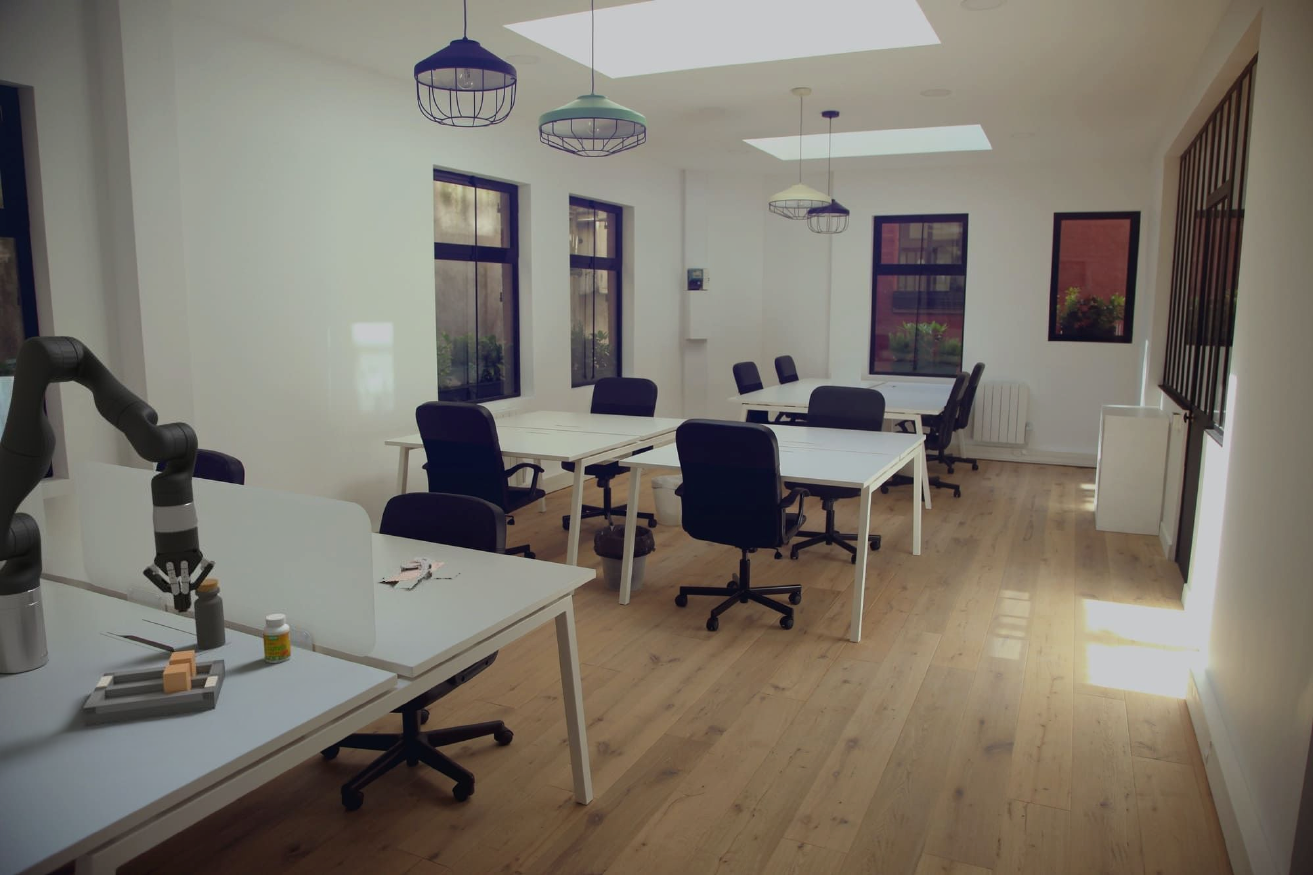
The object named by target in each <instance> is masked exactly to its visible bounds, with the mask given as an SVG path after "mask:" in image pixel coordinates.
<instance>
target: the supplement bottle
mask: <svg viewBox="0 0 1313 875" xmlns="http://www.w3.org/2000/svg"><path fill="white" fill-rule="evenodd" d="M286 621H287V620H286V615H285V614H283V613H274V614H269V615H267V616H266V617H265V625H266V626H265V627H264V628H263V630H262V636H263V637H262V638H263V649H264V650H263V653H264V660H265V662H266V663H269V664H279V663H284V662H286V661H288V660H290V659H291V657H292V649H291V647H292V646H291V634H290V633H291V631H290V629H291V628H290V625H289V624H287V623H286Z"/></svg>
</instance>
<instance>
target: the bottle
mask: <svg viewBox="0 0 1313 875" xmlns="http://www.w3.org/2000/svg"><path fill="white" fill-rule="evenodd" d="M218 585H219V579H218V578H205V580H204V581H203V582H202V584H201V585H200V586H199V588H198V589H197V590H194V594H195V596H196V597H197V599H195V600H194V602H193V606H194V610H193V611H194V621H195V622H194V623H195V632H196V634H195V635H196V645H197V648H199V649H201V650H202V649H203V650H208V649H215V648H219V647H222V646H223V645H225V644H226V629H225V627H226V626H225V616H224V602H223V598H222V597H221V596H220V595H218V594H219V593H220V592H221V590H220V586H218Z"/></svg>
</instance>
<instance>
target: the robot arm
mask: <svg viewBox="0 0 1313 875" xmlns="http://www.w3.org/2000/svg"><path fill="white" fill-rule="evenodd" d="M68 382H74V383H77V384H79V385H81V386H83V387H85V388H86V389H88V390H89V391H90V392H91V393H92V397H93V401H94V405H95V408H96V410H97V412H98V413H99V415H100V416H101V417H102V418H104V419H105V420H106V421H107V422H108V423H109V424H110V425H112V426H113V427H115V428H116V429H117V430H119V431H120V432H121V433H123V434H124V436H125V437H126V439H127V441H128V442H129V443H130V445H131V446H132V448H133V449H134V451H135V452H136V453H137V455H138V456H139V457H140V458H142V459H143V460H145V461H148V462H150V463H153V464H154V463H155V464H159V463H160V464H161V463H165V462H167V463H166V465H165V467H164V470H163V471H161V472H159V473H158V474H155V475H154V476H153V477H152V478H151V480H150V487H151V488H150V489H151V500H152V524H153V527H152V528H153V536H154V545H155V547H154V548H155V557H154V558H153V562H152V564H151V565H149V566H147V567H146V568H145V569H144V570H143V571H142V574H143V576H145V577H146V578H147V580H149V581H150V582H151V583H152V584H153V585H154V586H155V587H156V588H158V589H159V590H160V591H161V592H162V593H163V594H164V593H165V594H166V593H168V594H170V595H172V596H173V597H172V598H173V607H174V610H175V611H178V612H177V613H179V614H181V613H187V612H188V611H189V609H190V608H191V607H192V604H193V603H192V595H191V594H192V592H193V591H195V590H197V589H198V588H199V586H200V585H201V584H202V582H203V581H204V580H205V579H207V577H208V576H209V574H210V573H211V571H212V570H213V569H214V567H215V565H216V562H215V561H214V560H208V559H207V558H205V557H204V554H203V552H202V551H201V549H200V540H199V539H200V538H199V531H198V530H199V529H198V528H199V527H198V516H197V511H196V510H197V509H196V506H195V502H194V500H195V499H194V492H193V489H194V488H193V476H194V472H195V467H196V462H197V456H198V451H199V450H198V449H199V440H198V437H197V434H196V431H195V430H194V429H193V427H192V426H191V425H189V423H185V422H182V421H178V422H177V421H176V422H171V423H164V424H159V425H158V422H159V414H158V411H157V410H155V408H153V407H152V406H151V405H150V404H148V403H147V402H145V400H143V399H141V398H140V396H139V395H137V394H135V393H134V392H132V391H131V390H130V389H129V388H127V387H126V386H125V385H124V384H122V383H121V381H120V380H118V379H117V377H115V376H114V374H112V372H111V371H110V370H109V369H108V368H107V367H106V366H105V364H104V363H102V361H101V360H99V358H98V357H97V356H96V355H95V354H94V352H93V351H92V350H91V349H90V348H89V347H87V346H86V345H85V344H84V342H82V341H80V340H79V339H77V338H75V337H73V336H64V335H51V336H50V335H49V336H46V335H45V336H33V337H28V338H27V339H25V340H24V341H23V342H22V343H21V345H20V346H19V349H18V352H17V356H16V360H15V366H14V374H13V381H12V391H11V399H10V402H9V407H8V411H7V412H8V413H7V416H6V421H5V425H4V429H3V432H2V435H1V438H0V563H1V562H4V564H3V566H2V567H1V568H0V674H1V673H2V674H15V673H16V674H17V673H23V672H28V671H31V670H35V669H38V668H40V667H42V666H44V665H45V664H47V663H48V661H49V652H48V644H47V634H46V625H45V617H44V616H45V615H44V607H43V606H44V605H43V598H42V597H43V596H42V589H41V588H42V587H41V576H42V572H43V553H42V537H41V530H40V527H39V525H38V523H37V521H36V519H35V518H34V517H33V516H32V515H30V514H29V513H26V512H20V511H19V512H17V510H18V508H19V507H20V505H21V504H22V503H23V501H25V499H26V498H27V497H28V496H29V495H30V493H32V491H34V489H36V487H37V486H38V485H39V484H40V483H41V481H42V480H43V479H44V477H45V476H46V474H47V473H48V471H49V469H50V467H51V463H52V459H53V457H54V453H55V449H56V443H57V439H56V438H57V437H56V434H55V432H54V429H53V427H52V424H51V423H50V421H49V420H48V417H47V415H46V413H45V410H44V402H45V395H46V392H47V390H48V389H47V388H48V387H49V385H50V384H55V383H68ZM199 565H200V567H199V568H200V570H201V572H200V573H199V575H198V576H197V578H196V579H195V580H194V581H193V582H192V574H193V573H194V572H195V571H196V569H197V568H198V566H199ZM160 571H161V572H162V573H163V574H164V575H165V576H167V577H168V580H169V582H168V580H166V579H165V578H164V577H163V576H162V575H161V574H160Z"/></svg>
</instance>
